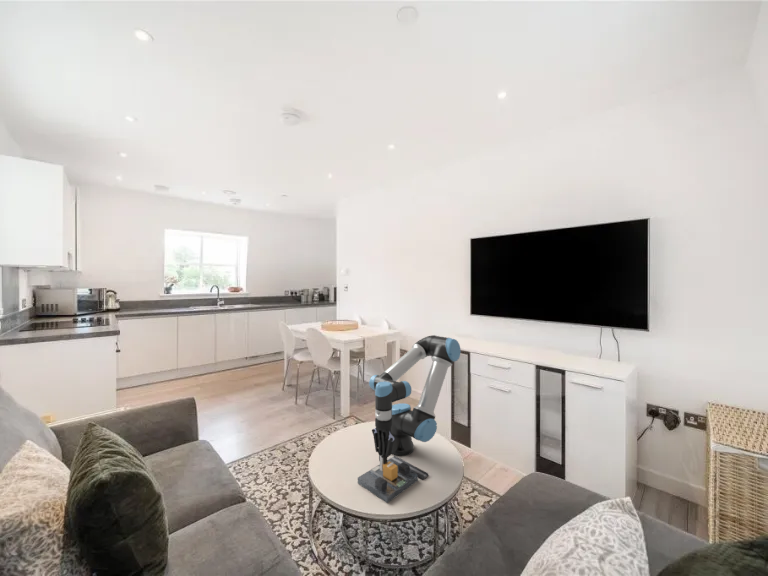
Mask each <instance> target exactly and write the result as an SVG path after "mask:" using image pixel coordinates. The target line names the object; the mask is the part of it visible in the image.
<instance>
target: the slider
mask: <svg viewBox="0 0 768 576" xmlns="http://www.w3.org/2000/svg"><path fill="white" fill-rule="evenodd" d="M383 476H384V477H385V478H387V479H389V480H390V481H392V480H394V479H395V478H397V477H398V466H397V465H395V464H393V462H392V463H391V462H390V461H389V462H387V463H386V464H384V465H383Z"/></svg>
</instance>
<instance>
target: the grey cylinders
mask: <svg viewBox="0 0 768 576" xmlns="http://www.w3.org/2000/svg"><path fill="white" fill-rule="evenodd" d="M389 460H391V461H393V462H395V463H396V464H398V465H399V464H401V463H405V464H407V465H409V466H410V471H411V472H413V473H415V474H417V475H418V479H421V480H425V479H426V478H427V477H429V473H428V472H427V471H425V470H423V469H421V468H419V467H417V466H416V465H413V464H411V463H410V462H407V461H406V460H404V459H402V458H401V457H399V456H396V455H393V456H391V457H390V458H389Z"/></svg>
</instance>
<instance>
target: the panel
mask: <svg viewBox="0 0 768 576" xmlns="http://www.w3.org/2000/svg"><path fill="white" fill-rule="evenodd" d="M389 459H390V458H389ZM389 459H388V458H387V462H389V461H390V462H391V463H392V462H393V461H391V460H389ZM393 464H395V465H397V466H398V477H397V478H395V479H394V480H392V481H390V480H389V479H387V478H385V477H384V476H383V471H381V470H380V464H378V465H376V466H375V467H373V468H371V469H370V470H368V471H366V472H364V473H363V474H361V475H359V476H358V477H357V484H358V485H360V486H361V487H362V488H364V489H365V490H367V491H368V492H370V493H372V494H373V495H374V496H376V497H377V498H379V499H380V500H382V501H383V502H384V503H387V504H388V503H389V502H391V501H392V500H393V499H395V498H397V497H398V496H399V495H401V494H402V493H403V492H405V491H406V490H408V489H409V488H410V487H412V485H414V484H415V483H417V482H418V481H419V477H418V475H417V474H415V473H413V472H411V471H410V466H409V465H407V464H405V463H401V464H399V465H398V464H396V463H395V462H393Z"/></svg>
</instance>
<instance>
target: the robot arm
mask: <svg viewBox="0 0 768 576" xmlns="http://www.w3.org/2000/svg"><path fill="white" fill-rule="evenodd" d="M427 357H431V360H432V363H431V365H430V369H429V371H428V374H427V377H426V381H425V383H424V386H423V389H422V392H421V394H420V398H419V401H418V404H417V405H416V406H414V407H413V409H412V407H411V405H410V404H408V403H403V402H401V403H395V402H396V401H397V402H398V401H401V400H403V399H406V398H408V397H410V396H411V394H412V386H411V384H410V383H409V382H408V381H406V380H401V381H398V380H399V379H401V377H402V376H403V375H405V374H406V373H407V372H408V371H410V370H411V369H412V367H414V366H415V365H416V364H417V363H418V362H420V361H421V360H424V359H425V358H427ZM460 357H461V346H460V343H459V341H458V340H457V339H454V338H453V337H447V336H446V337H444V336H440V335H435V334H434V335H428V336H424V337H423V338H421V339H419V340H418V341H416V342H415V343H414V344H413V345H412V347H411V348H410V350H408V351H407V352H406V353H404V354H403V355H402V356H401V357H400V358H399V359H398V360H396V361H395V362H394V363H393V364H391V366H389V367H388V368H387V369H385V371H383V372H382V373H380V375H379V374H374V375H372V376H371V377H370V379H369V381H368V385H369V387H370V389H371V390H373V391H374V395H375V397H374V398H375V399H374V401H375V405H374V406H375V407H374V409H375V411H374V412H375V413H374V416H375V418H374V421H375V423H374V426H375V427H374V428H373V429H371V432H372V435H373V441H374V448H375V452H376V453H378V461H379V465H380V470H381V471H383V465H384V464H386V463H387V460H388V458H389V457H391V456H396V457H405V456H409V455H410V454H412V453H413V452H414V449H415V448H414V442H413V439H415V440H417V441H420V442H422V443H426V442H429V441H430V440H432V439H433V437H434V436H435V434H436V432H437V428H438V426H437V424H438V423H437V421H436V420H435V419H436V415H435V412H434V411H435V409H436V406H437V403H438V399H439V396H440V393H441V390H442V387H443V384H444V381H445V379H446V376H447V373H448V369H449V368H450V367H452V366H453V363H454V362H457V361H458V360H459V359H460ZM393 403H395V404H393ZM411 409H412V410H411Z"/></svg>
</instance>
